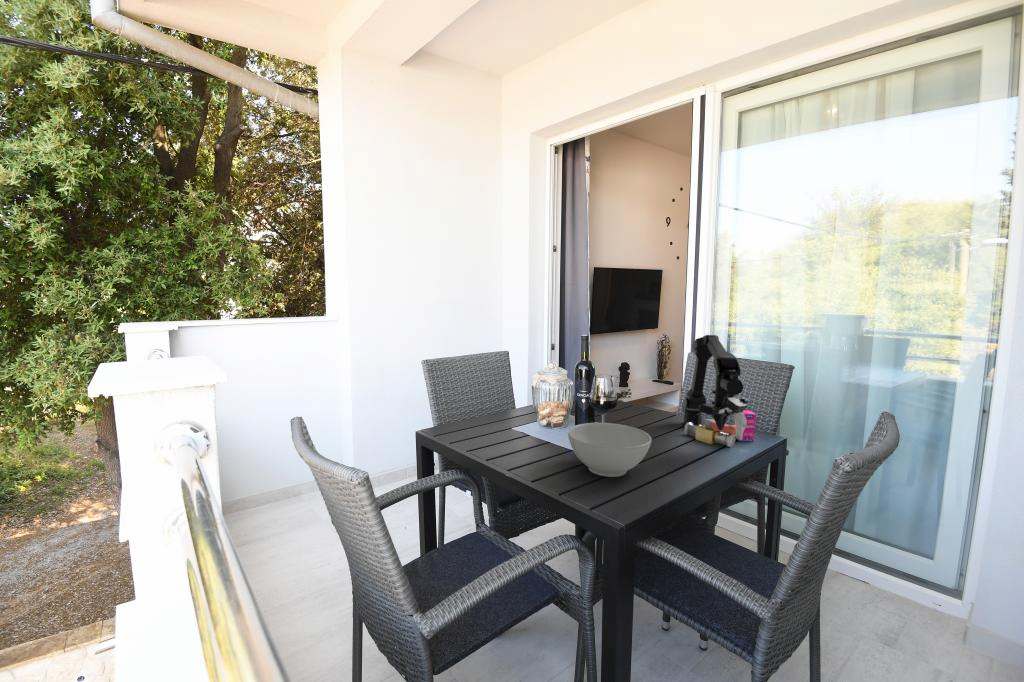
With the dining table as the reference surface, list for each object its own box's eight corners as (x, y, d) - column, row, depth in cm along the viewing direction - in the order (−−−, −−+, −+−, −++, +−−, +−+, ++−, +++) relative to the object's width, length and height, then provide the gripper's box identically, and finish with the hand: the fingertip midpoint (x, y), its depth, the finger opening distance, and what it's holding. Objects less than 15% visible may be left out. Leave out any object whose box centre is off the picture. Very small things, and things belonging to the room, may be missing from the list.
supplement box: (739, 441, 194) (742, 413, 193) (732, 436, 200) (735, 409, 199) (754, 441, 194) (756, 413, 193) (746, 437, 200) (749, 409, 199)
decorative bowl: (549, 468, 161) (551, 432, 159) (597, 450, 179) (599, 418, 178) (619, 494, 142) (621, 454, 140) (664, 471, 161) (667, 435, 159)
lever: (702, 426, 194) (703, 419, 194) (708, 425, 196) (708, 418, 196) (732, 435, 184) (733, 427, 184) (737, 433, 186) (738, 426, 186)
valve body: (682, 435, 200) (683, 423, 199) (692, 432, 204) (693, 420, 204) (726, 448, 185) (727, 435, 184) (736, 445, 189) (737, 432, 188)
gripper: (725, 395, 169) (721, 439, 171) (759, 391, 178) (755, 432, 180) (699, 389, 179) (696, 430, 181) (732, 385, 188) (729, 424, 190)
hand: (720, 429), depth 183 cm, fingers closed
